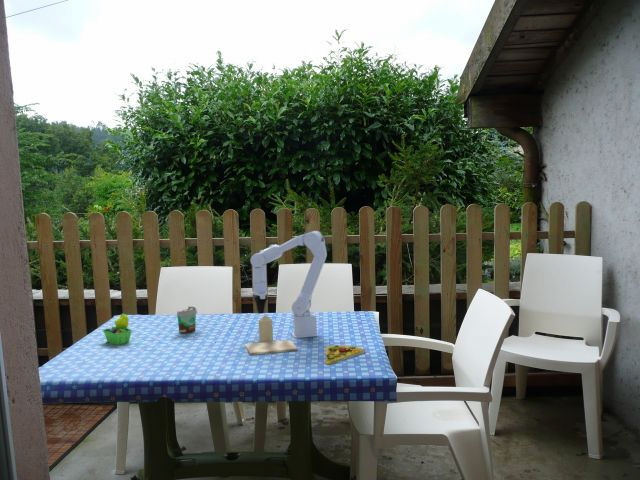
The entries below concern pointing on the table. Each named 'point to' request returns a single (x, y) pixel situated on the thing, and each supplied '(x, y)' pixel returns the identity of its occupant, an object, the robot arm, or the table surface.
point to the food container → (187, 320)
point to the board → (270, 347)
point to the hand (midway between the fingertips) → (260, 313)
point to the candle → (265, 329)
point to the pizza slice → (341, 353)
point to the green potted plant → (119, 331)
